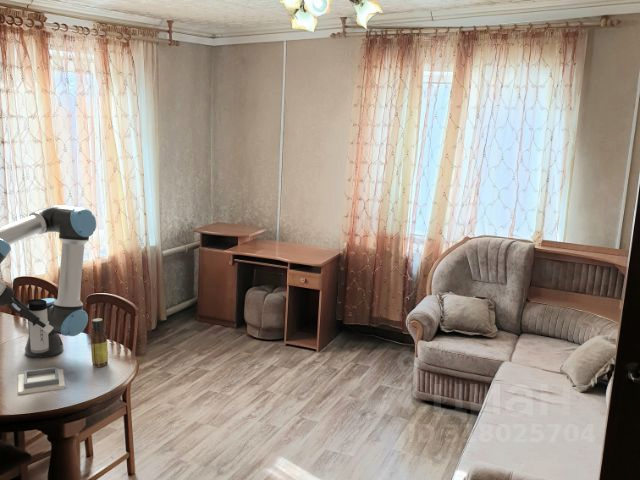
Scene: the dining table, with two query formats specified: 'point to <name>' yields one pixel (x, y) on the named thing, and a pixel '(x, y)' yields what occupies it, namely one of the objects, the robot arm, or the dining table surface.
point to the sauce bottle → (99, 344)
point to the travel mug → (36, 333)
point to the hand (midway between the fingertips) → (48, 327)
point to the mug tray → (40, 380)
